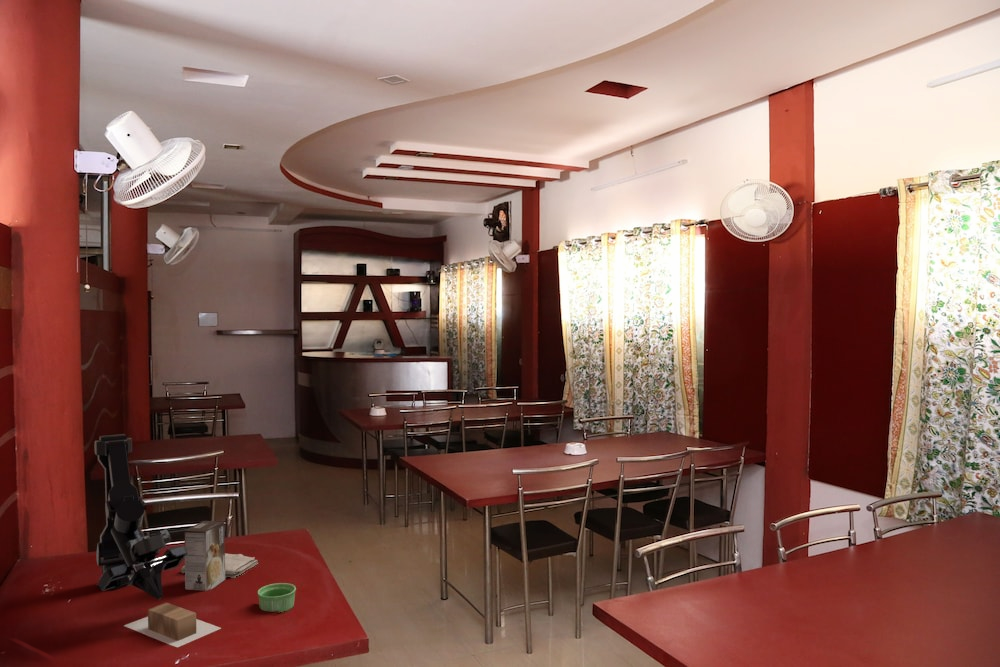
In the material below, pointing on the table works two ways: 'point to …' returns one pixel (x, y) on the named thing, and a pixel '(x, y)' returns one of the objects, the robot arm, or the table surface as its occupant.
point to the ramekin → (276, 597)
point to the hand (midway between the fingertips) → (160, 598)
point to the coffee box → (204, 555)
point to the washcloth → (235, 564)
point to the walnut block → (172, 621)
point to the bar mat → (201, 631)
